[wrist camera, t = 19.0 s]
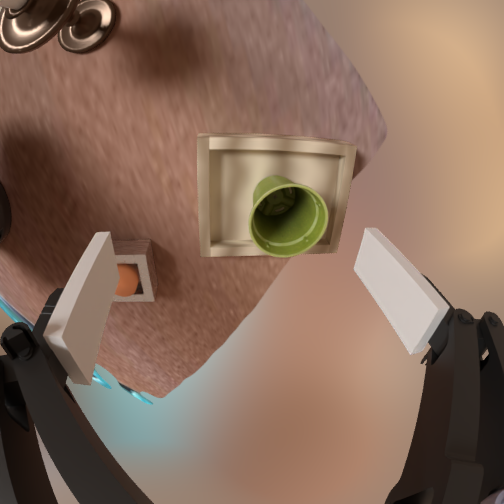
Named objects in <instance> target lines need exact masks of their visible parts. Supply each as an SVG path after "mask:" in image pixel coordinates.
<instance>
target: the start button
mask: <svg viewBox="0 0 504 504" xmlns="http://www.w3.org/2000/svg"><path fill="white" fill-rule="evenodd" d="M117 267H118V271H119V276H120V279H119V282H118V285H117V288H116V291H115V294H116V295H118V296H122V297H128V296H131V295H133V294H134V293H135V291H136V289H137V285H138V282H139V279H140V274H139V269H138V267H137V266H136V265H135V264H134V263H133V264H117Z"/></svg>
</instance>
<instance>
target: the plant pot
mask: <svg viewBox="0 0 504 504" xmlns="http://www.w3.org/2000/svg"><path fill="white" fill-rule="evenodd" d="M288 187H291V189H292V193H291V194H290V191H289V188H288ZM274 195H276V196H277V198H274V197H273V196H274ZM259 203H261V204H262V206H259ZM282 207H284V209H283V210H282V211H279V212H276V211H275V210H277V209H280V208H282ZM327 223H328V210H327V206H326V204H325V201H324V200H323V198H322V197H321V196H320V195H319V194H318V193H317V192H316V191H315V190H313V189H312V188H310V187H308V186H305V185H302V184H296V183H293V182H292V181H290V180H289V179H287V178H285V177H282V176H278V175H274V176H269V177H266V178H264V179H263V180H261V181H260V182H259V183H258V185H257V186H256V188H255V190H254V193H253V208H252V210H251V212H250V216H249V221H248V228H249V233H250V237H251V239H252V241H253V242H254V244H255V245H256V246H257V247H258V248H259V249H260V250H261V251H262V252H264V253H266V254H268V255H271V256H274V257H280V258H285V257H293V256H296V255H299V254H302V253H304V252H306V251H308V250H309V249H310V248H312V247H313V246H314V245H315V244H316V243H317V242H318V241H319V240H320V238H321V237H322V236H323V234H324V232H325V230H326V227H327Z"/></svg>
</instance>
